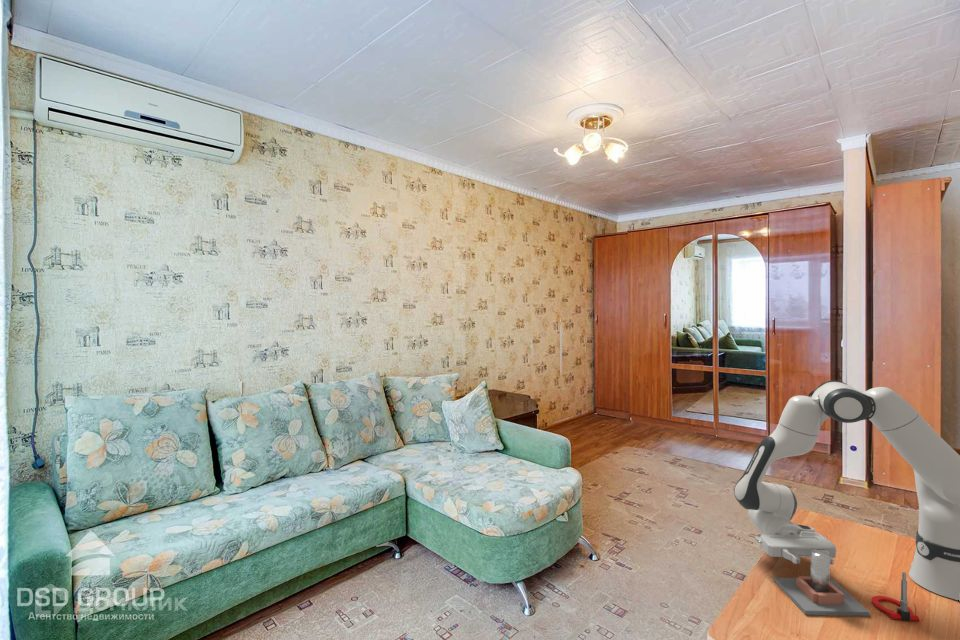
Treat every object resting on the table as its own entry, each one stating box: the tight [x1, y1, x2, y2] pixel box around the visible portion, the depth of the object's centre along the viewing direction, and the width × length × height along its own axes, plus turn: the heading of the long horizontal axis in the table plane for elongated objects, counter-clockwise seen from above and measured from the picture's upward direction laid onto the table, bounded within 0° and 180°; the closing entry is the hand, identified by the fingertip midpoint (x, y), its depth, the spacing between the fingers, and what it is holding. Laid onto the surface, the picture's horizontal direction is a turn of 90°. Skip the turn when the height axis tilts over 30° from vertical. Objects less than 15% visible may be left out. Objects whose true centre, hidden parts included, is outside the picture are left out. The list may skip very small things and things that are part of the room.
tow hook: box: [870, 571, 920, 622], centre depth 123 cm, size 8×13×9 cm
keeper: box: [773, 575, 871, 617], centre depth 128 cm, size 17×14×4 cm
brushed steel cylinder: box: [810, 550, 831, 593], centre depth 128 cm, size 4×4×12 cm
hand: (814, 561), depth 130 cm, fingers open, 8 cm apart
